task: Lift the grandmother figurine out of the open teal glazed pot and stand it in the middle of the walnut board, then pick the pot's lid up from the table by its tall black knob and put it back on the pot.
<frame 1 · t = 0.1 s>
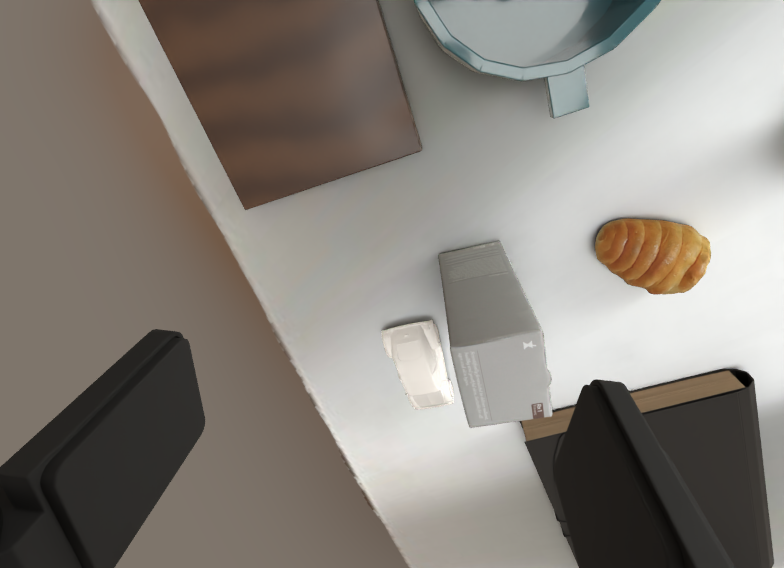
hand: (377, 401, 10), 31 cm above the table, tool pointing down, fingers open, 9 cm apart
pastry: (644, 250, 39), on the table
car: (421, 359, 48), on the table
file folder: (645, 483, 54), on the table
cosmetic box: (479, 280, 43), on the table
board: (282, 53, 35), on the table
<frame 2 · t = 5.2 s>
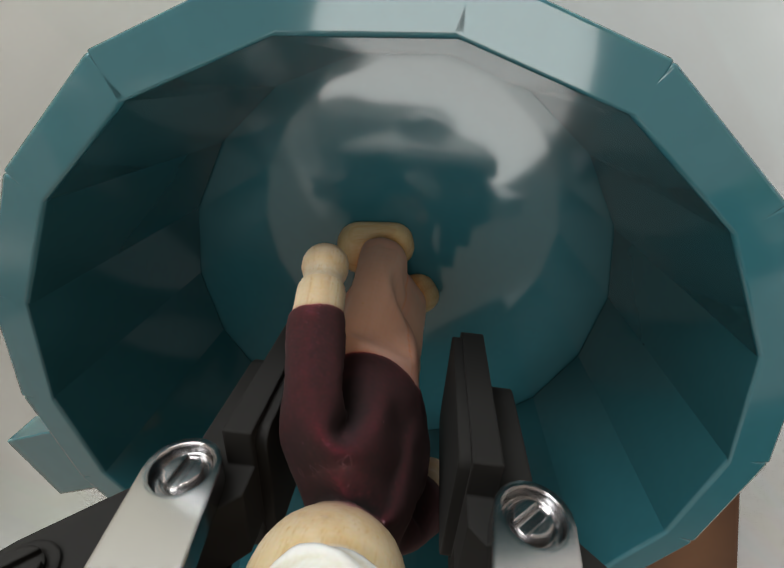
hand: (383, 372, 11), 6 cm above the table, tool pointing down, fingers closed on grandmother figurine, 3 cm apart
grandmother figurine: (395, 282, 16), resting on pot, touching gripper
pot: (397, 277, 16), on the table
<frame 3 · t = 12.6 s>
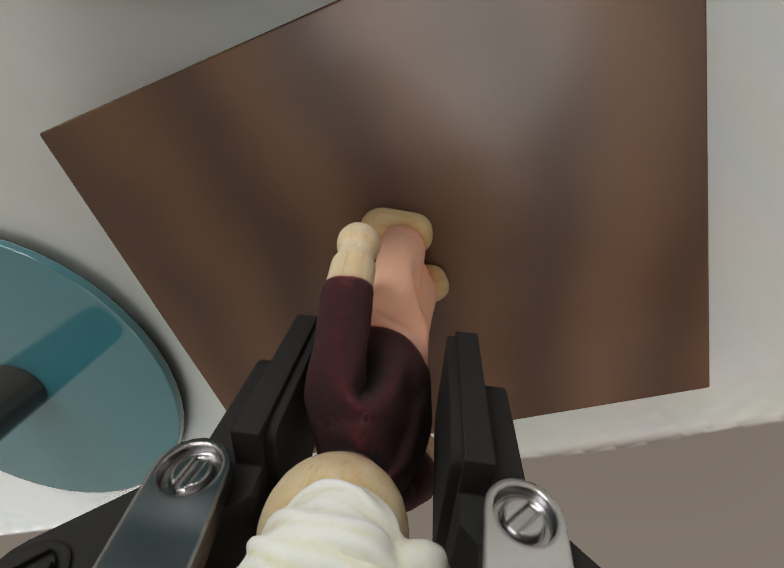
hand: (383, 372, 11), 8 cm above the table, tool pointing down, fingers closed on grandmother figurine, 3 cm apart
lid: (28, 380, 23), point 1 cm above the table
grandmother figurine: (408, 270, 16), point 1 cm above the table, touching board, gripper
board: (400, 254, 18), on the table
when the fingers open (10 cm above the table, at t = 26.5 s): grandmother figurine stays where it is, resting on board.
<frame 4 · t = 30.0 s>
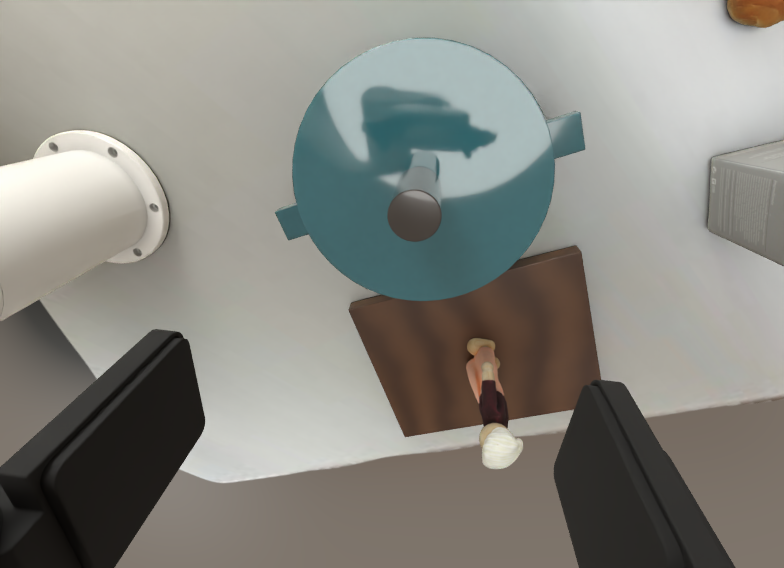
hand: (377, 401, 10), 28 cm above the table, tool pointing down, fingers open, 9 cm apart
lid: (419, 186, 28), point 7 cm above the table, touching pot
grandmother figurine: (484, 358, 42), point 1 cm above the table, touching board
cosmetic box: (763, 176, 33), on the table
board: (478, 349, 43), on the table
pot: (422, 163, 35), on the table
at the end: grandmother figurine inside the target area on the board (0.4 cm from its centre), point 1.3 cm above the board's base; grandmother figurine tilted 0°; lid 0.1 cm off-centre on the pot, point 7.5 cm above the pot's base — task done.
